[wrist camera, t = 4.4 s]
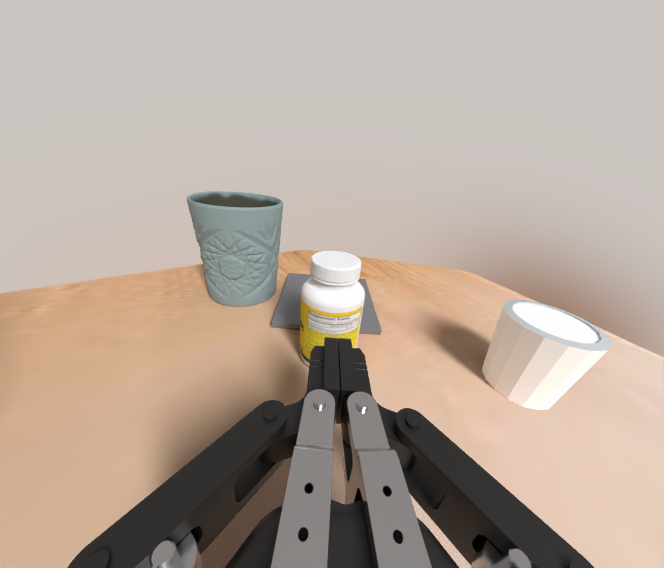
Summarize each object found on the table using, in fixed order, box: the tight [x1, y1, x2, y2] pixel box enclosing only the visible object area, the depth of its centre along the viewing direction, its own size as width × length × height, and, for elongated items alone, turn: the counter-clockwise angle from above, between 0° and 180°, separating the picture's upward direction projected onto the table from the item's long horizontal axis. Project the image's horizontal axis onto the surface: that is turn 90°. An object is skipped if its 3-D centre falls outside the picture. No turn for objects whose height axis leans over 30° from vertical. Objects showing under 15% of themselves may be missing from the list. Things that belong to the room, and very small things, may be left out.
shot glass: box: [482, 300, 613, 410], centre depth 21 cm, size 7×7×7 cm
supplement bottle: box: [300, 251, 365, 366], centre depth 21 cm, size 5×5×10 cm
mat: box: [271, 273, 381, 334], centre depth 32 cm, size 13×12×1 cm
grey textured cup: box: [187, 191, 283, 307], centre depth 30 cm, size 10×10×12 cm
